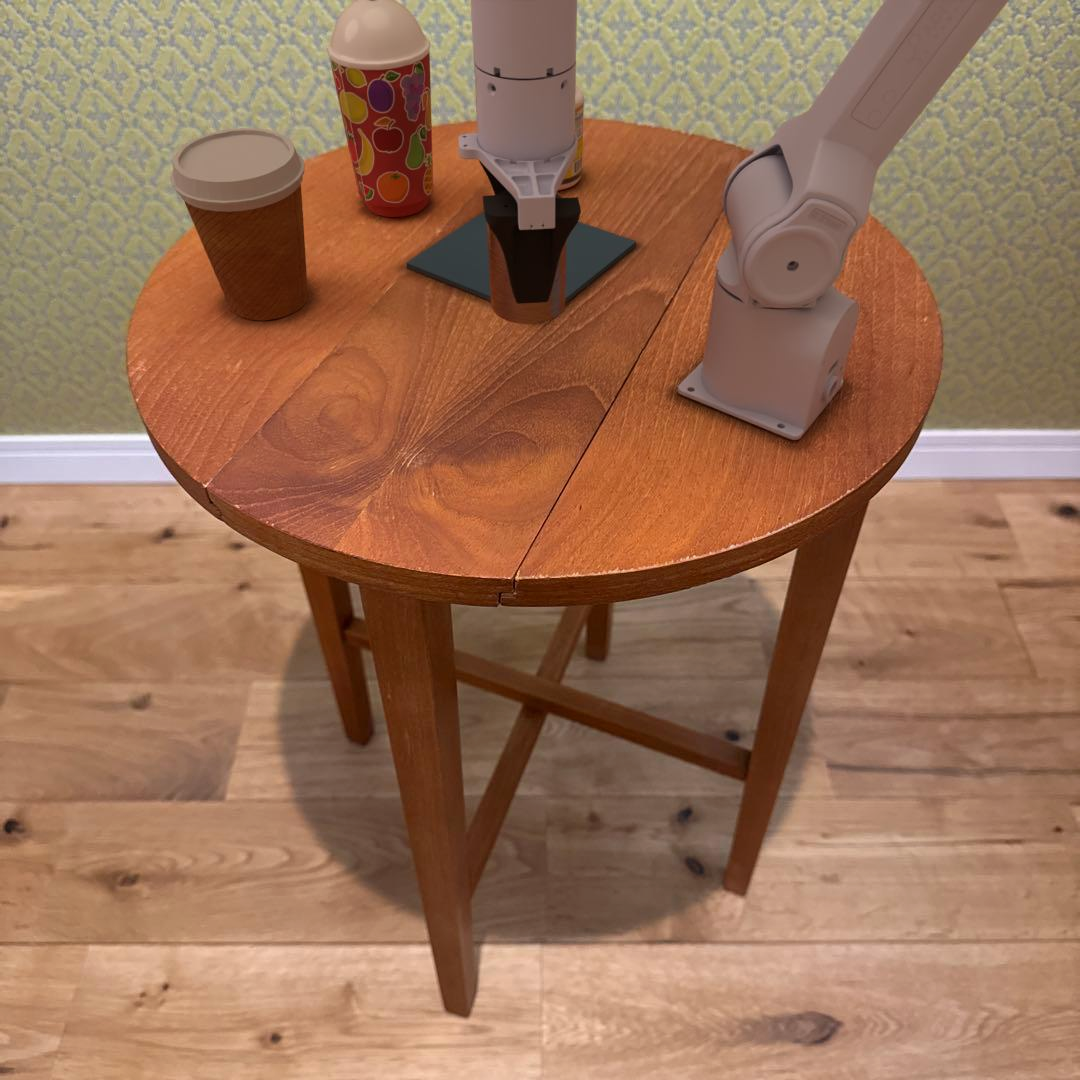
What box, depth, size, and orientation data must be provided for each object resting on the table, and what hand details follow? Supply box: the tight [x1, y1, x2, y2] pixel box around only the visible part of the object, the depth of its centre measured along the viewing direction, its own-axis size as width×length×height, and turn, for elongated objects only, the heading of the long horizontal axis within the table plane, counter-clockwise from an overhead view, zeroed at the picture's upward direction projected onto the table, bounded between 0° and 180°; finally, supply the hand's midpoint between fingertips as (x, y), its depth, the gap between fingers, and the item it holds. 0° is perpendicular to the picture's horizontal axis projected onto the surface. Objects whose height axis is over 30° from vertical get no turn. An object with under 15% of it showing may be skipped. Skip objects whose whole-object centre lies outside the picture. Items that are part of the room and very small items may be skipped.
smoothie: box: [326, 0, 434, 218], centre depth 82 cm, size 8×8×20 cm
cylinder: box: [487, 190, 566, 325], centre depth 63 cm, size 5×5×7 cm
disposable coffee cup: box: [170, 127, 309, 321], centre depth 74 cm, size 10×10×12 cm
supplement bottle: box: [558, 85, 585, 191], centre depth 88 cm, size 6×6×10 cm
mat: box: [405, 211, 637, 304], centre depth 82 cm, size 14×14×1 cm
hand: (528, 276), depth 64 cm, fingers closed on cylinder, 5 cm apart
